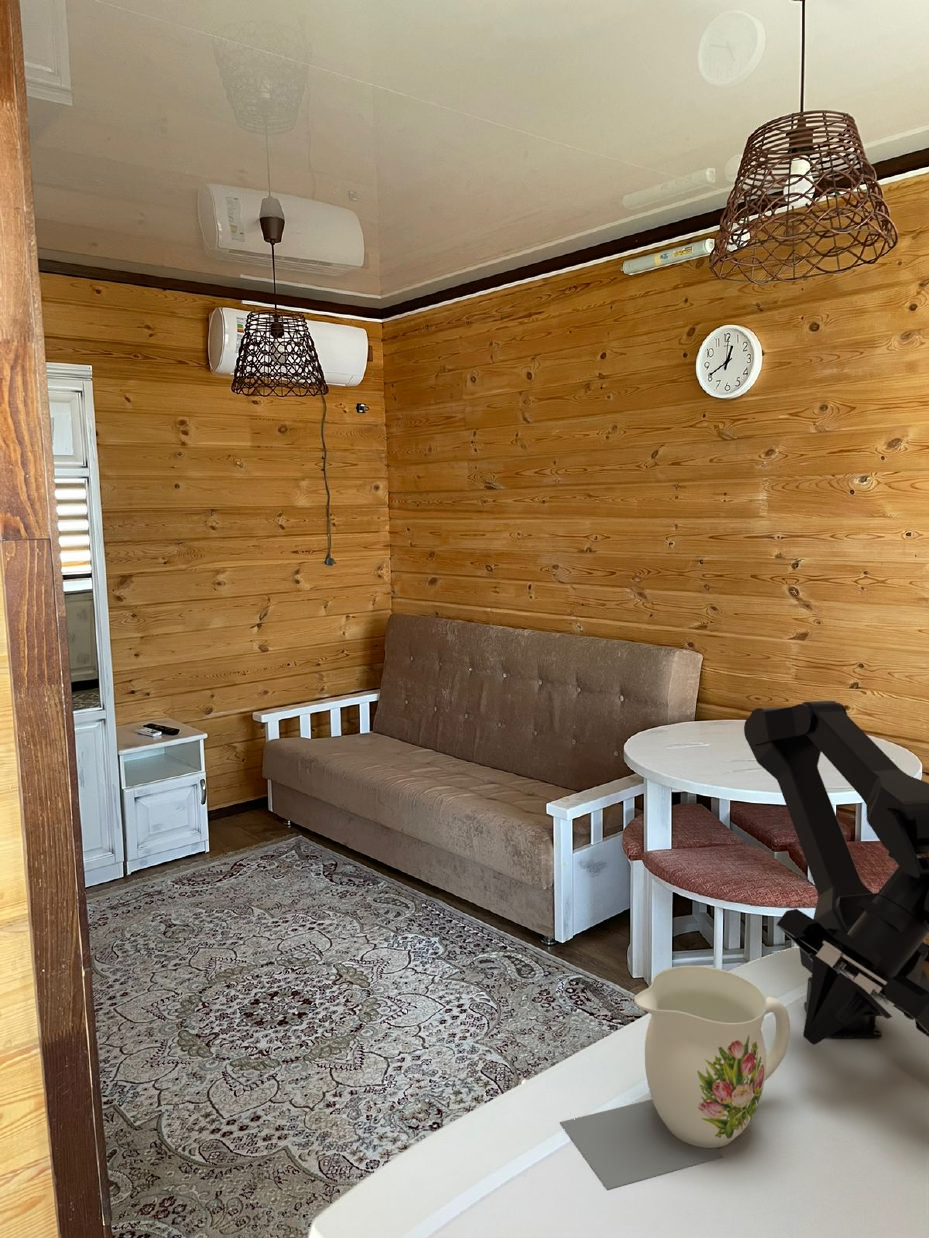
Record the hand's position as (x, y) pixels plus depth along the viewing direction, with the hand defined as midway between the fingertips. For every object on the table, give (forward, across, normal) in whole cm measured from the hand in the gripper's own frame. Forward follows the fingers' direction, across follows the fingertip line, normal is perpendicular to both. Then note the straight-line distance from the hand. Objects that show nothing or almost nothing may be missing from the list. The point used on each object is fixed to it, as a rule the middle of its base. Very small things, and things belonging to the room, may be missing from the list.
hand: (808, 1040), depth 90 cm
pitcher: (+12, 0, +4) cm, 13 cm away
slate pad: (+17, 0, +9) cm, 20 cm away
